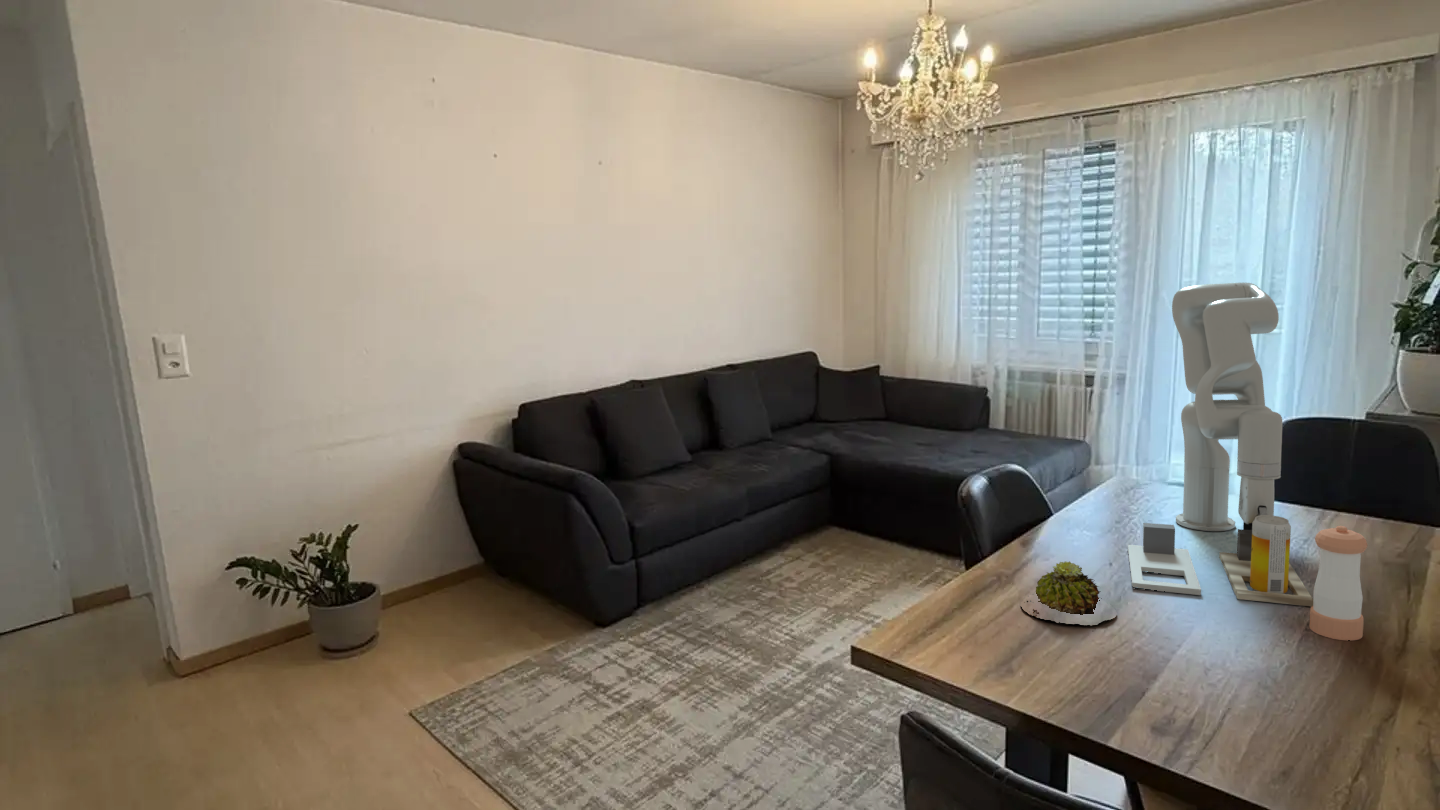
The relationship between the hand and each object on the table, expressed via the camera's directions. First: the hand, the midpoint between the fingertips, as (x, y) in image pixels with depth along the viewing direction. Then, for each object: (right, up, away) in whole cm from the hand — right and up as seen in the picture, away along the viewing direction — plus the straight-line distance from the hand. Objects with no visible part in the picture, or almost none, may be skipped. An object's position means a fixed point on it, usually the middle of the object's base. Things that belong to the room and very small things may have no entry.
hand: (1256, 547), depth 162 cm
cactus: (-47, -10, -14) cm, 50 cm away
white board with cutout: (-20, -6, +1) cm, 20 cm away
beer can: (-6, -7, -12) cm, 15 cm away
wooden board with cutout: (-4, -6, -7) cm, 10 cm away
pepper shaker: (-7, -10, -29) cm, 32 cm away
